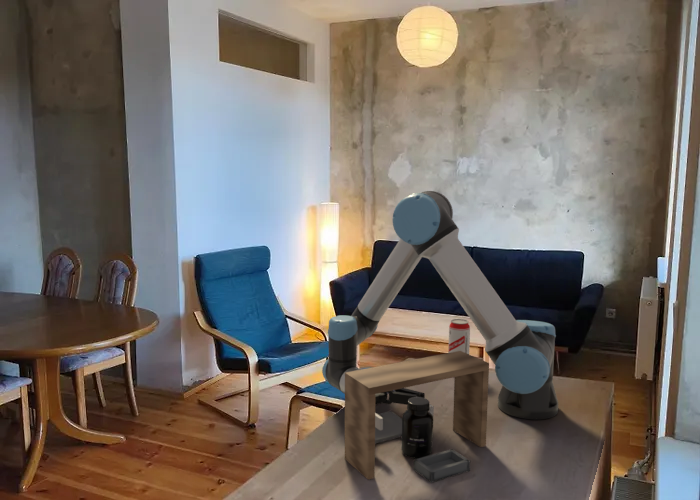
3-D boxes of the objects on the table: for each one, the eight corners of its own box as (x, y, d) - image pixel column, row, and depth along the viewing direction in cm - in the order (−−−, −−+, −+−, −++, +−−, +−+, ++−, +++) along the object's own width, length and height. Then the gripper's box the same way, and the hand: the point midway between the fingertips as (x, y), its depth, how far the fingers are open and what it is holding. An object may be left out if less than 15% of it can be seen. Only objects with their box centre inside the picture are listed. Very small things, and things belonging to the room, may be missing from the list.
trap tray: (413, 469, 131) (414, 459, 130) (451, 458, 136) (452, 448, 135) (430, 482, 126) (431, 472, 125) (469, 470, 130) (470, 460, 130)
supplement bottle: (412, 462, 134) (413, 409, 132) (395, 449, 140) (396, 398, 138) (438, 455, 137) (440, 403, 135) (421, 442, 143) (422, 392, 141)
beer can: (453, 367, 193) (454, 317, 190) (472, 371, 189) (473, 320, 187) (444, 373, 188) (445, 321, 185) (463, 377, 184) (464, 325, 182)
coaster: (390, 414, 158) (390, 411, 158) (418, 432, 148) (418, 429, 148) (349, 423, 153) (349, 420, 153) (374, 443, 142) (375, 440, 142)
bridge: (344, 458, 135) (344, 372, 132) (457, 428, 150) (460, 350, 147) (368, 479, 127) (369, 388, 124) (485, 445, 141) (489, 363, 138)
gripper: (401, 392, 165) (451, 422, 146) (316, 410, 153) (358, 446, 134) (402, 365, 163) (452, 392, 145) (315, 381, 152) (358, 413, 133)
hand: (407, 418), depth 140 cm, fingers open, 13 cm apart
